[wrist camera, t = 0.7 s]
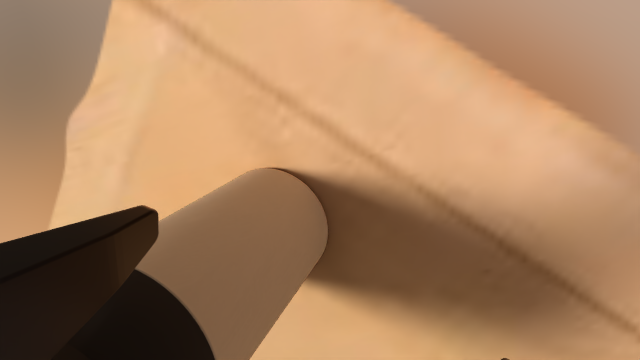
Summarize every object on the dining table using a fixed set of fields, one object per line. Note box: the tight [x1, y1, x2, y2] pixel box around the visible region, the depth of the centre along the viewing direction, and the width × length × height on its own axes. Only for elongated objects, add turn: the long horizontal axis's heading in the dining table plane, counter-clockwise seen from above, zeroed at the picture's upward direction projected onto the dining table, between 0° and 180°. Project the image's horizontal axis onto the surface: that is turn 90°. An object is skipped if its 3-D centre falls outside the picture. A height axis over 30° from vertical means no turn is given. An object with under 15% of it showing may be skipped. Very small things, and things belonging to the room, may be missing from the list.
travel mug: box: [51, 168, 328, 360], centre depth 19 cm, size 8×8×18 cm
